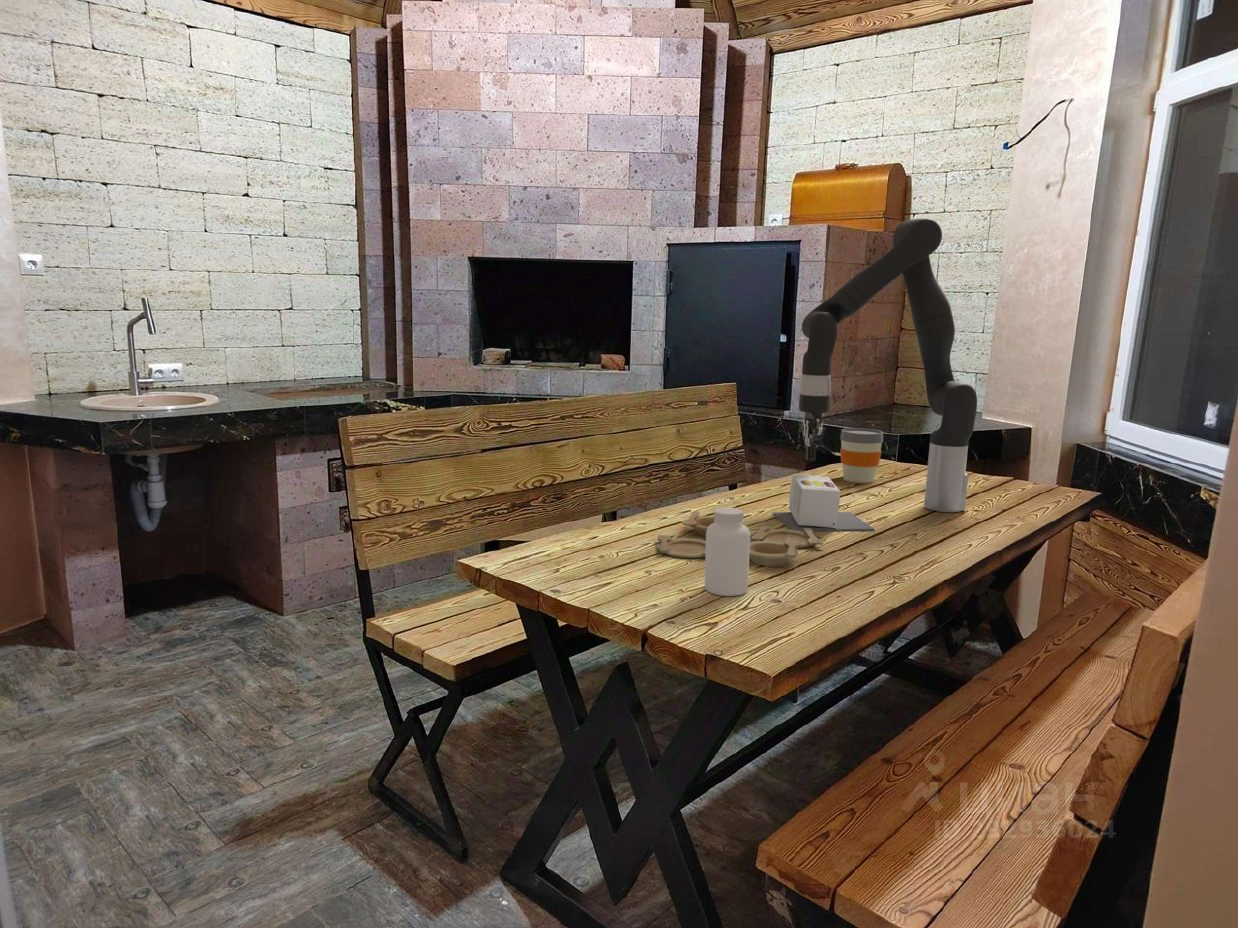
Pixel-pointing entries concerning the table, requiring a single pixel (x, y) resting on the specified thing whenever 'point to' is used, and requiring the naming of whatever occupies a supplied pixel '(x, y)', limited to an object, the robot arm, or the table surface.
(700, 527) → the tableware set
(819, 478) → the supplement box
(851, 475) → the reusable coffee cup
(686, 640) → the table surface
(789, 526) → the mat
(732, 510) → the pill bottle
